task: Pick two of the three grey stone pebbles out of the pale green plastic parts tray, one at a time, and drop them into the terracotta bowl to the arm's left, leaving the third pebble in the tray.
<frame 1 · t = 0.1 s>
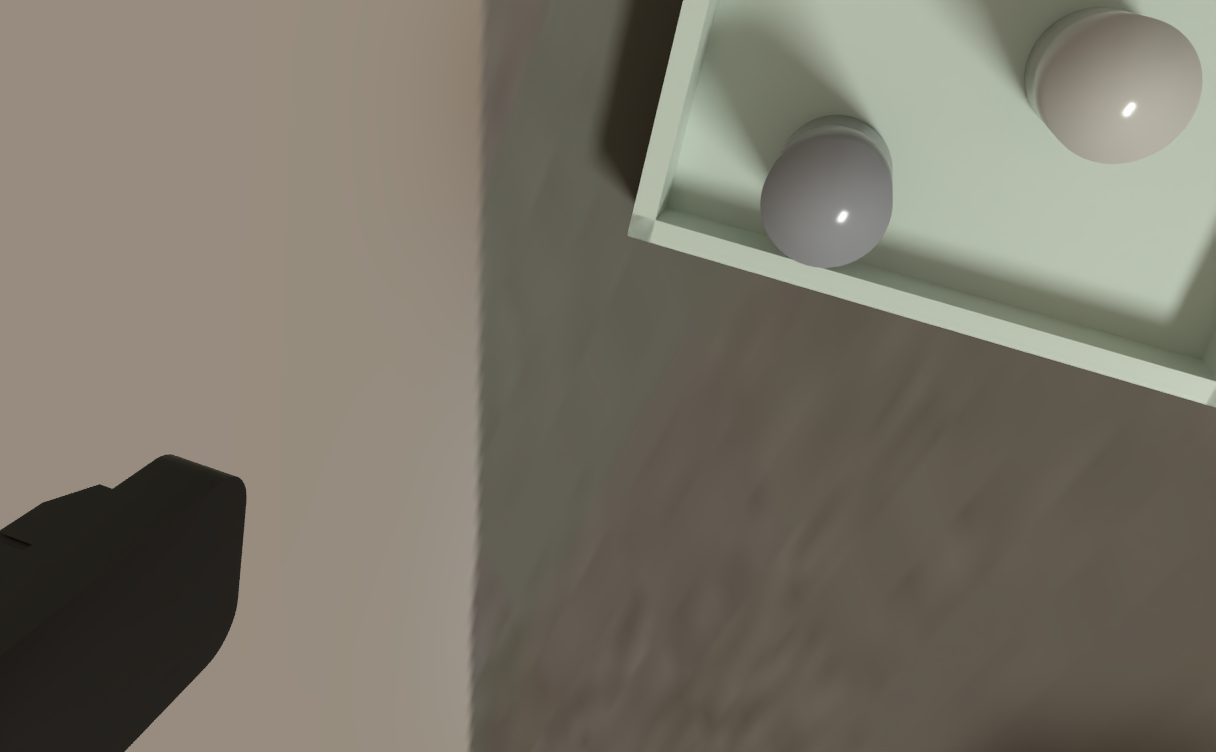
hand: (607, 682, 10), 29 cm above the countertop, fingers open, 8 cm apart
pebble b: (1090, 72, 32), point 1 cm above the countertop, touching tray
pebble c: (833, 172, 35), point 1 cm above the countertop, touching tray
tray: (1011, 33, 33), on the countertop
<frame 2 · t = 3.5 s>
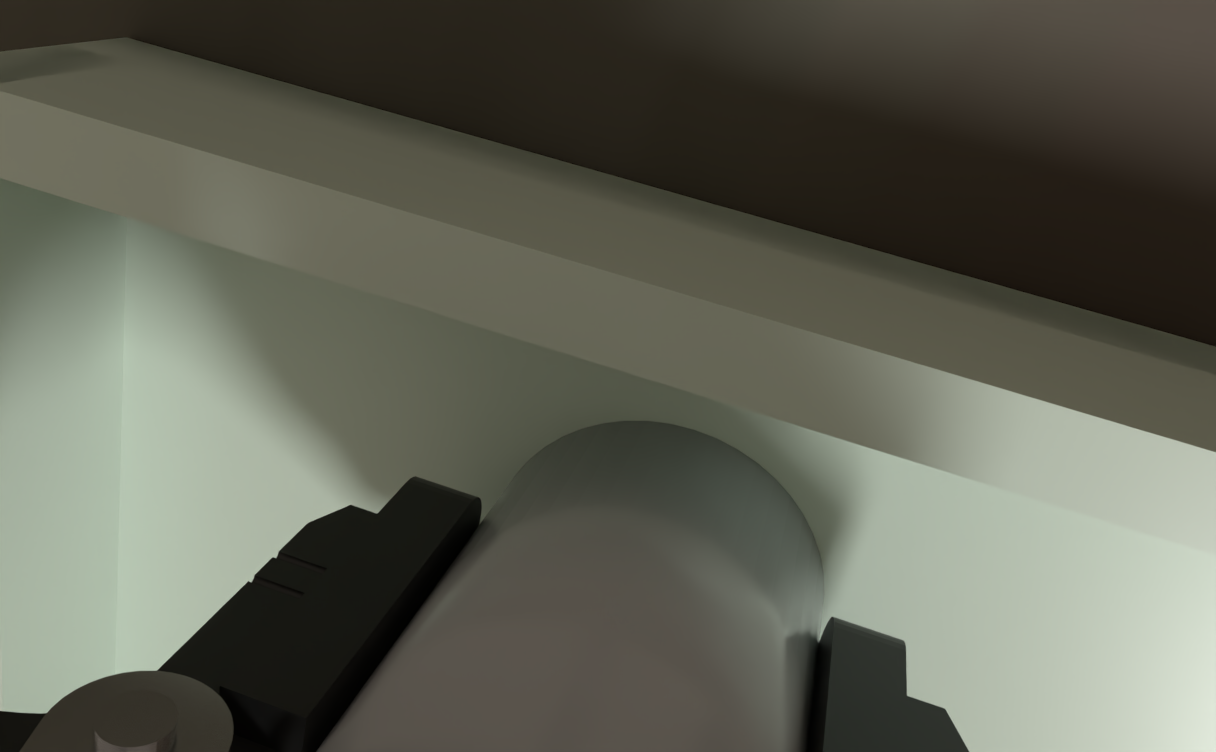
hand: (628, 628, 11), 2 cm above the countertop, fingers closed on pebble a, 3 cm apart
pebble a: (651, 575, 12), point 1 cm above the countertop, touching gripper, tray
when the fingers open (5 cm above the countertop, at t = 7.6 s): pebble a drops 3 cm, resting on bowl.
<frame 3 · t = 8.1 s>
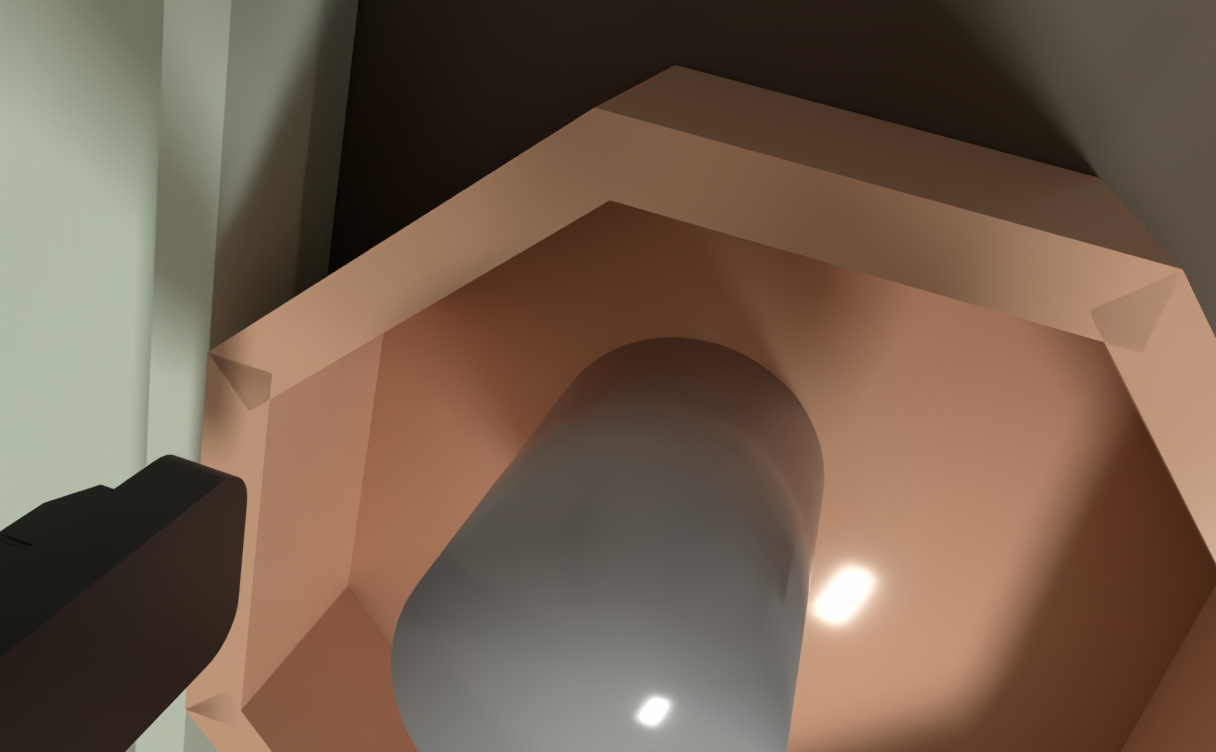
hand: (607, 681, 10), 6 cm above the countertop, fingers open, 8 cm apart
pebble a: (681, 469, 14), point 1 cm above the countertop, touching bowl
bowl: (741, 545, 16), on the countertop
when the fingers open (5 cm above the countertop, at t = 15.9 s): pebble b drops 3 cm, resting on bowl.
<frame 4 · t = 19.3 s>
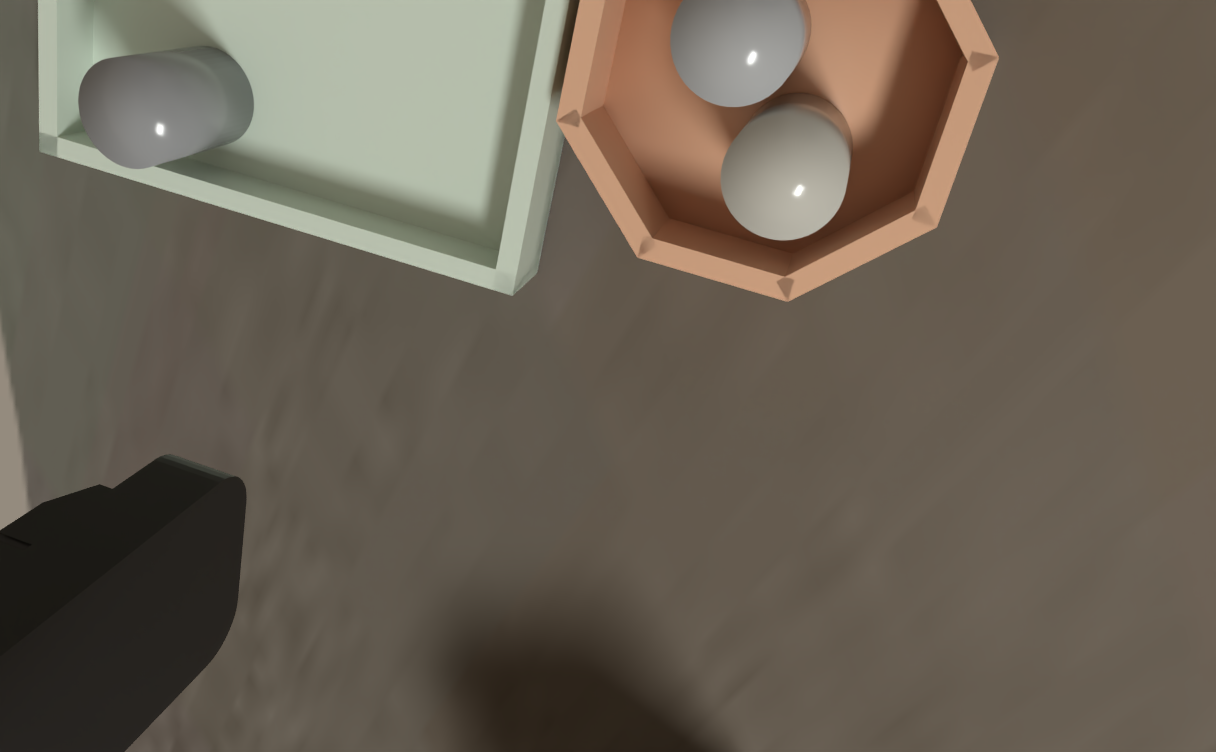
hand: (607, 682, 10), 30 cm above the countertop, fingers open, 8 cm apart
pebble a: (753, 28, 35), point 1 cm above the countertop, touching bowl
pebble b: (796, 149, 36), point 1 cm above the countertop, touching bowl
pebble c: (210, 96, 41), point 1 cm above the countertop, touching tray
bowl: (776, 77, 37), on the countertop
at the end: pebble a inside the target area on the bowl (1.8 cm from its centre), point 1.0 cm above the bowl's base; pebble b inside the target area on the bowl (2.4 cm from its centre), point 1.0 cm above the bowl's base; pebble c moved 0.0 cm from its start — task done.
